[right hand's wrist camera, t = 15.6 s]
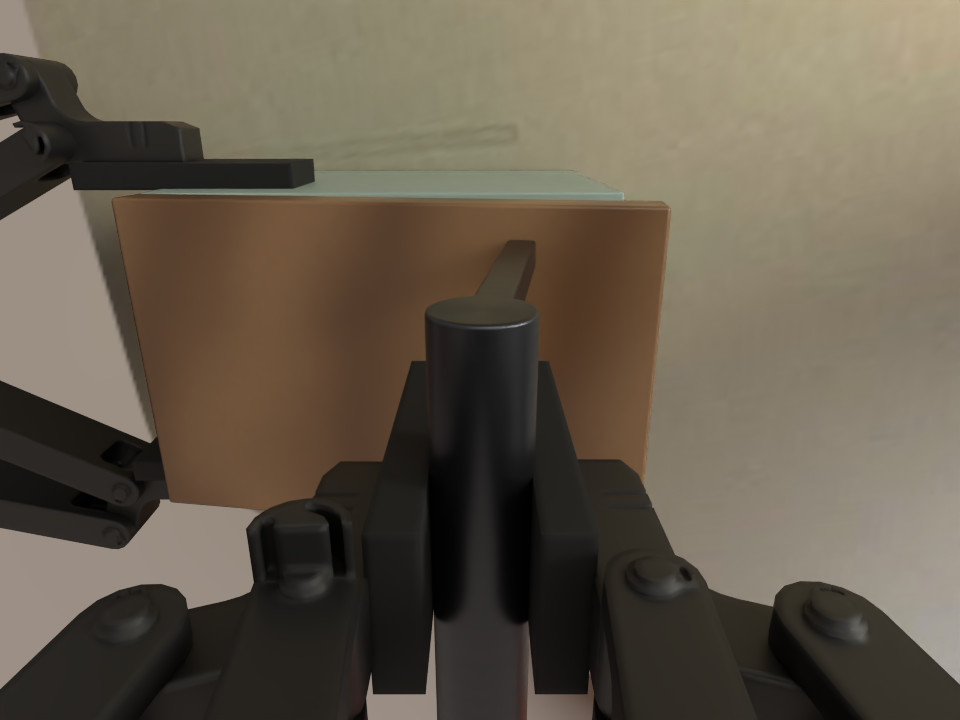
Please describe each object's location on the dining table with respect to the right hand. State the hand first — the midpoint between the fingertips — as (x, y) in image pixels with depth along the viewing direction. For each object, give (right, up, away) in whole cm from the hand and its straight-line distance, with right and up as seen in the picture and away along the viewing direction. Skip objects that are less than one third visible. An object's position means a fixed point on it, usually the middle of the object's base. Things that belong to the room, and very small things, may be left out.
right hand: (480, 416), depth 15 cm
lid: (-2, +1, +4) cm, 4 cm away
